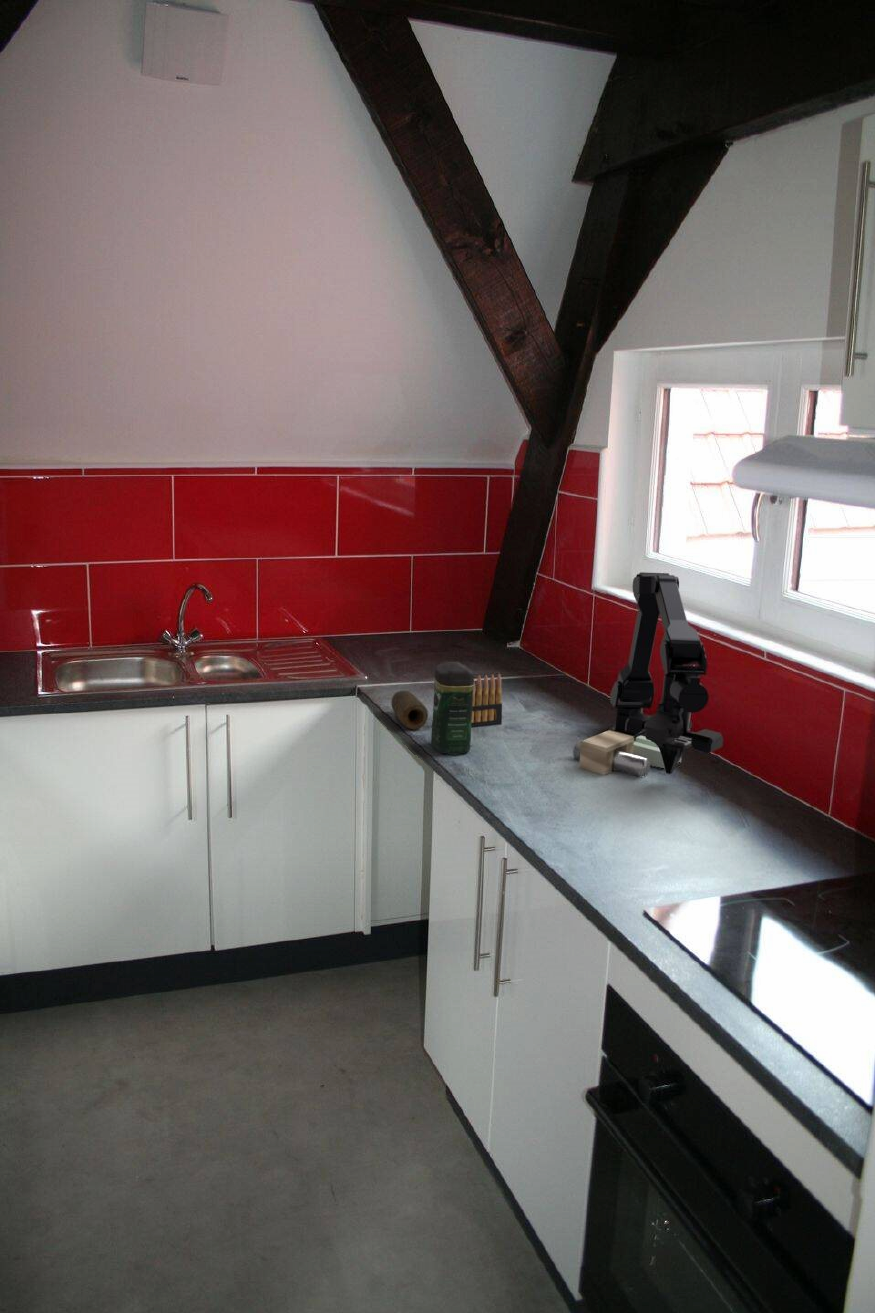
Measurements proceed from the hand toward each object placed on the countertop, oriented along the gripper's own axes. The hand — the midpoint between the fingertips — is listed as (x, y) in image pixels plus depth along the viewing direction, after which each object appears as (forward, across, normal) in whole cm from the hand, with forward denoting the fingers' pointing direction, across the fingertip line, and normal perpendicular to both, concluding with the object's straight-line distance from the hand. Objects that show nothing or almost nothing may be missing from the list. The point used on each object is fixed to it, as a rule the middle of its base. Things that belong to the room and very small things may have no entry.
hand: (669, 773), depth 220 cm
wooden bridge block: (+2, -14, 0) cm, 15 cm away
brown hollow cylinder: (+2, -62, -8) cm, 63 cm away
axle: (+2, -14, 0) cm, 14 cm away
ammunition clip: (+2, -50, +2) cm, 50 cm away
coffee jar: (+2, -44, -16) cm, 46 cm away
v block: (+2, -9, +10) cm, 14 cm away
